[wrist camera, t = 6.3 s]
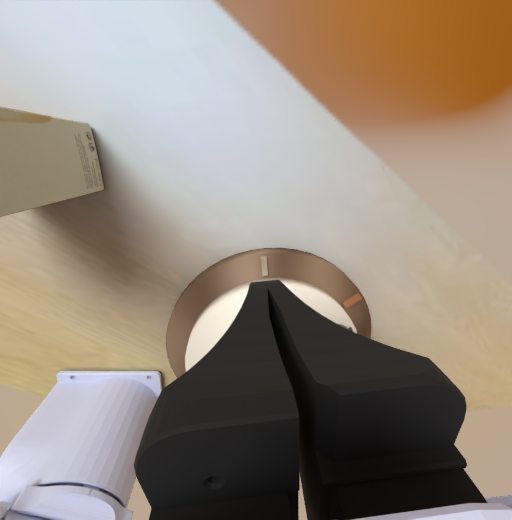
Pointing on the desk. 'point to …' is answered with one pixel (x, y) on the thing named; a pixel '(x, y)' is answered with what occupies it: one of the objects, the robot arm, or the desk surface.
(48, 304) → the desk surface
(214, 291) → the dial base
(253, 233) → the desk surface
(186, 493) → the robot arm
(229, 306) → the dial
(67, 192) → the skincare box
